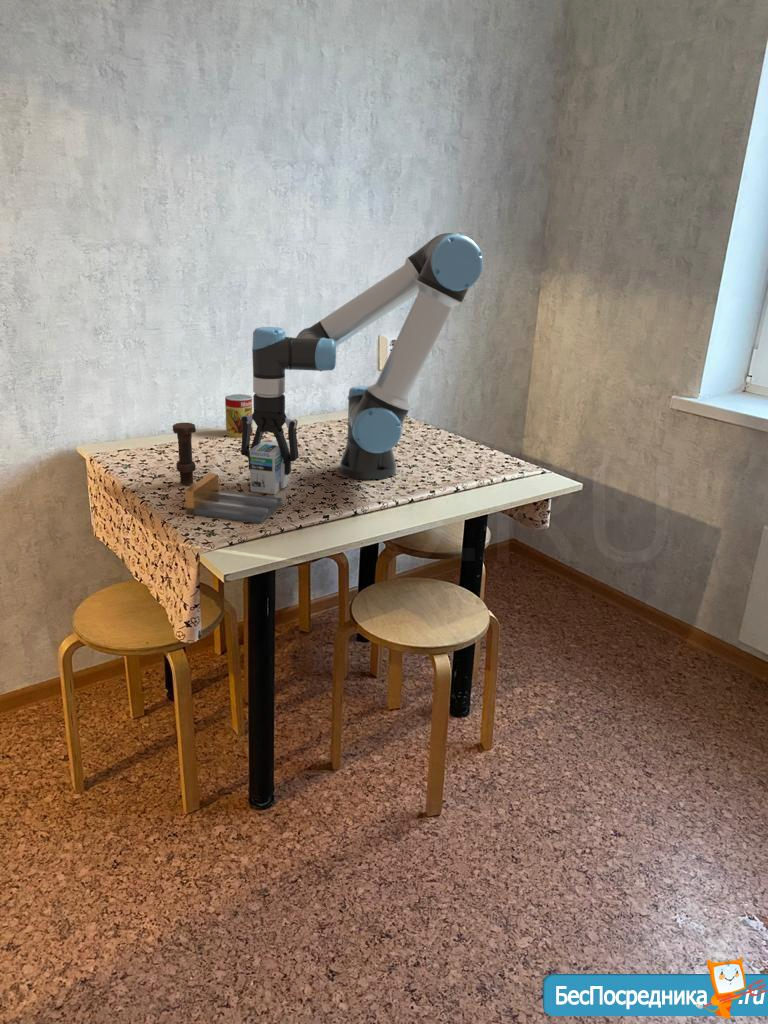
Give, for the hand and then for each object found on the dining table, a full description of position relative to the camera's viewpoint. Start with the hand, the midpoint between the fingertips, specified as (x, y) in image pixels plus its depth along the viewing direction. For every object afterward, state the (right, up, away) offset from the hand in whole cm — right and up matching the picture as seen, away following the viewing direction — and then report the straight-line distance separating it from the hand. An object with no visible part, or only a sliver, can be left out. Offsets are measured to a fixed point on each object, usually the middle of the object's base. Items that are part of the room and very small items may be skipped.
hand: (269, 484), depth 192 cm
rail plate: (-6, -6, -15) cm, 17 cm away
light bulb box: (0, -1, 0) cm, 1 cm away
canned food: (-15, +16, +42) cm, 47 cm away
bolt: (-21, 0, 0) cm, 21 cm away
